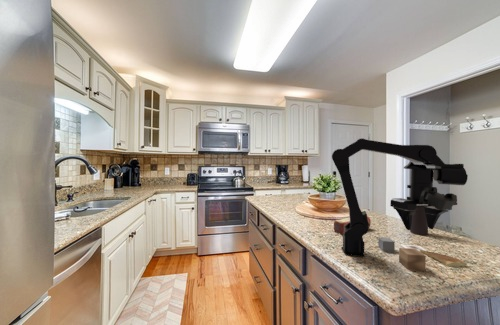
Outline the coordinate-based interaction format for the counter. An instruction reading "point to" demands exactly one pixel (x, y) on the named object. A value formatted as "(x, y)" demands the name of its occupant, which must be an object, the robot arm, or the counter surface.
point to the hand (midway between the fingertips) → (419, 229)
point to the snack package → (343, 224)
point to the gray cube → (386, 244)
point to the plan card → (413, 247)
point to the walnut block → (412, 259)
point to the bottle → (419, 222)
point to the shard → (445, 259)
